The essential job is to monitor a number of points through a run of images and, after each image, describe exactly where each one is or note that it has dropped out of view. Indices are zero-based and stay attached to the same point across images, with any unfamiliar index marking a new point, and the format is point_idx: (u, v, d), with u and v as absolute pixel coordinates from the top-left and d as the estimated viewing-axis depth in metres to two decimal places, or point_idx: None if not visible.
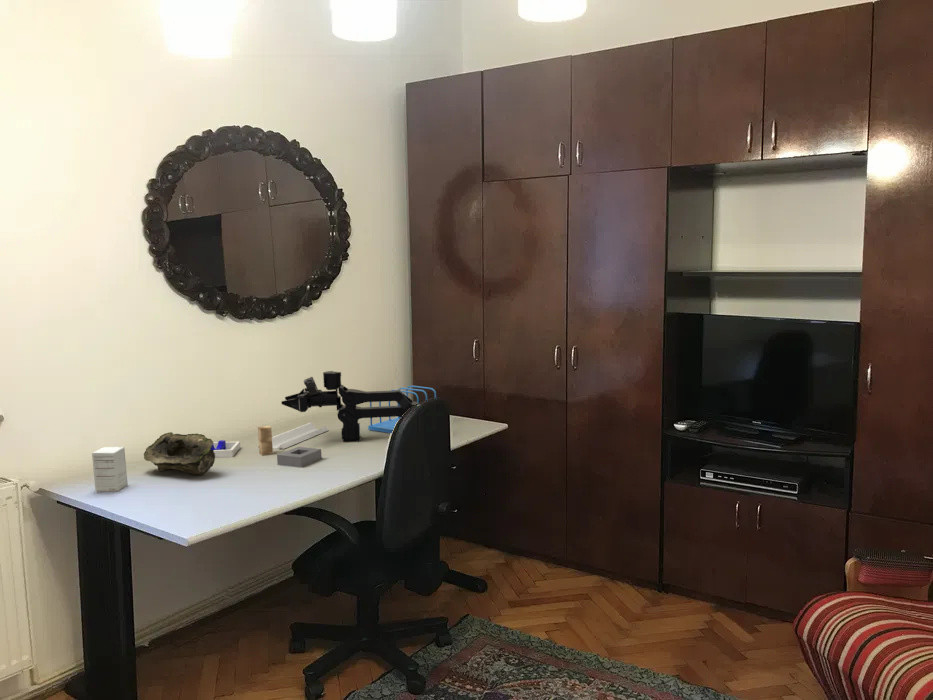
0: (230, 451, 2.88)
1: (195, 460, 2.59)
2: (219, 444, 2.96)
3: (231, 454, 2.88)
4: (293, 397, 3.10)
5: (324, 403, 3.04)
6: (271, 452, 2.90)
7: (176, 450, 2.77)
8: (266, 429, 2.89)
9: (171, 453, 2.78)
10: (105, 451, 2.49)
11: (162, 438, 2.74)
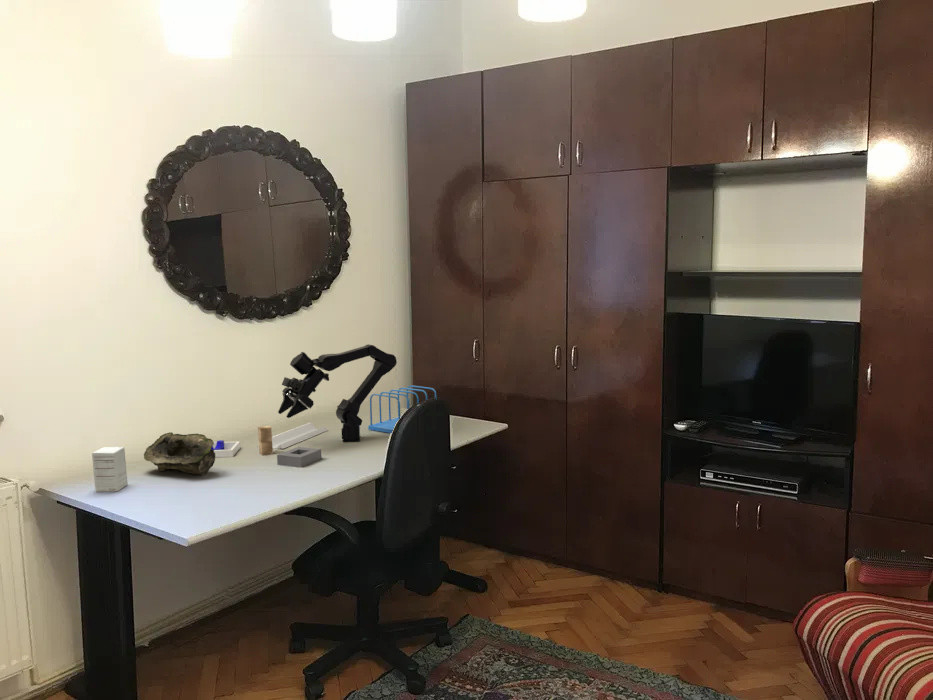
0: (230, 451, 2.88)
1: (195, 460, 2.59)
2: (218, 444, 2.96)
3: (231, 454, 2.88)
4: (284, 406, 2.98)
5: (315, 385, 2.96)
6: (271, 452, 2.90)
7: (176, 450, 2.77)
8: (266, 429, 2.89)
9: (171, 453, 2.78)
10: (105, 451, 2.49)
11: (162, 438, 2.74)
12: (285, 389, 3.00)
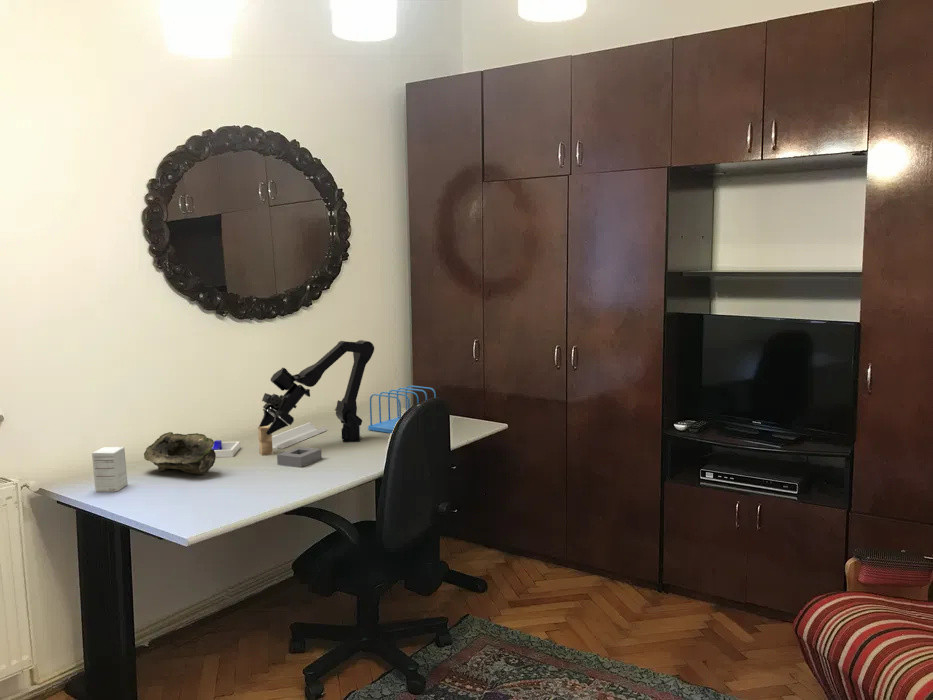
0: (230, 451, 2.88)
1: (196, 460, 2.60)
2: (215, 444, 2.96)
3: (231, 454, 2.88)
4: (264, 422, 2.94)
5: (296, 401, 2.93)
6: (271, 452, 2.90)
7: (176, 450, 2.77)
8: (266, 429, 2.89)
9: (171, 453, 2.78)
10: (105, 451, 2.49)
11: (162, 438, 2.74)
12: (266, 405, 2.97)
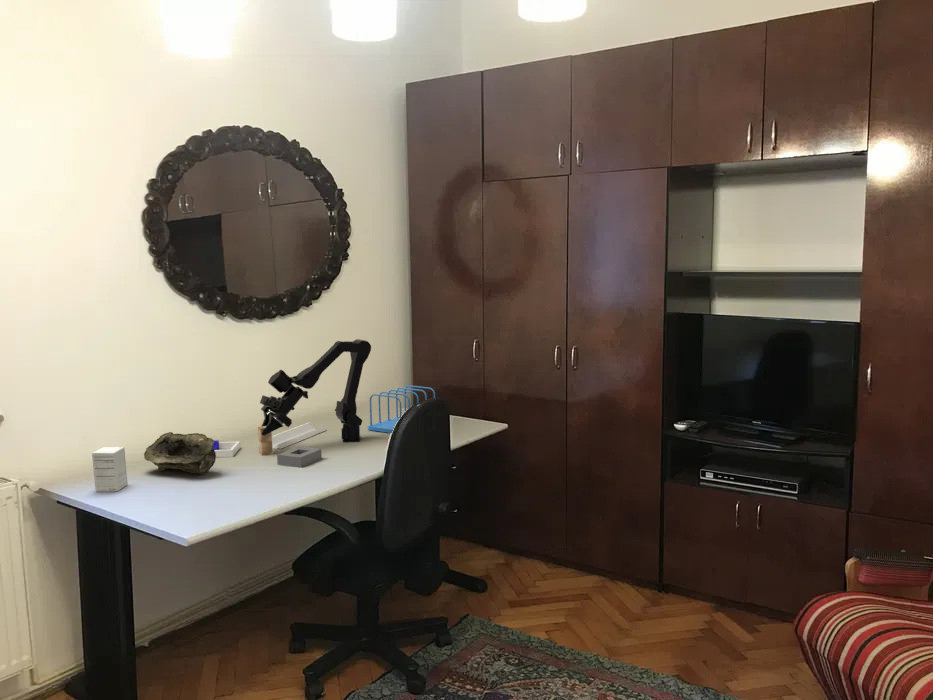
0: (230, 451, 2.88)
1: (196, 460, 2.60)
2: None
3: (231, 454, 2.88)
4: None
5: (294, 403, 2.92)
6: (271, 452, 2.90)
7: (176, 450, 2.77)
8: None
9: (171, 453, 2.78)
10: (105, 451, 2.49)
11: (162, 438, 2.74)
12: (264, 407, 2.96)
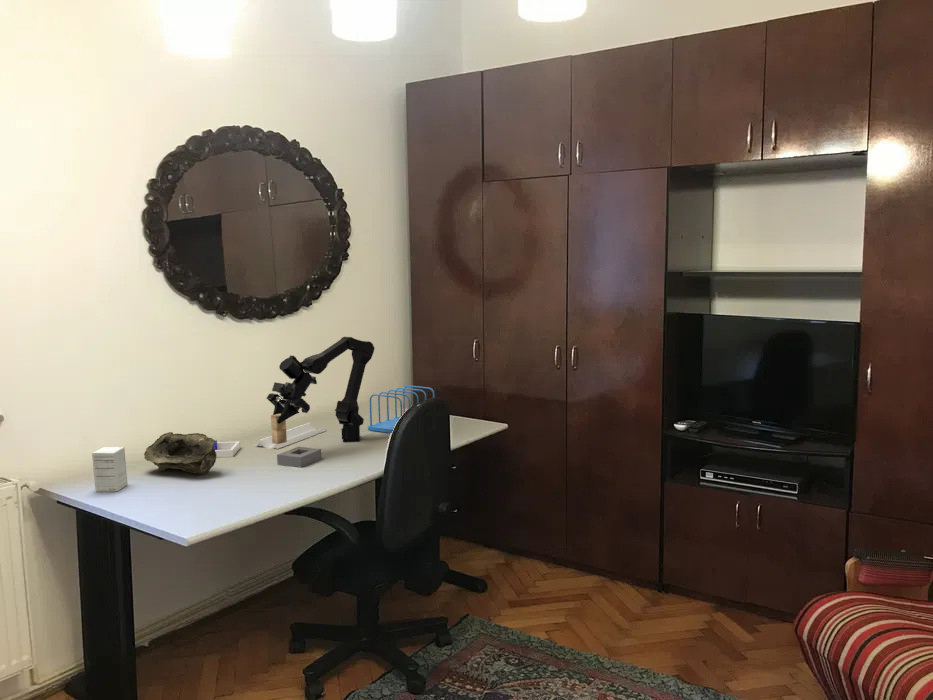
0: (230, 451, 2.88)
1: (197, 459, 2.60)
2: None
3: (231, 454, 2.88)
4: None
5: (305, 389, 2.87)
6: (285, 440, 2.83)
7: (176, 450, 2.77)
8: None
9: (171, 453, 2.78)
10: (105, 451, 2.49)
11: (162, 438, 2.74)
12: (270, 395, 2.87)
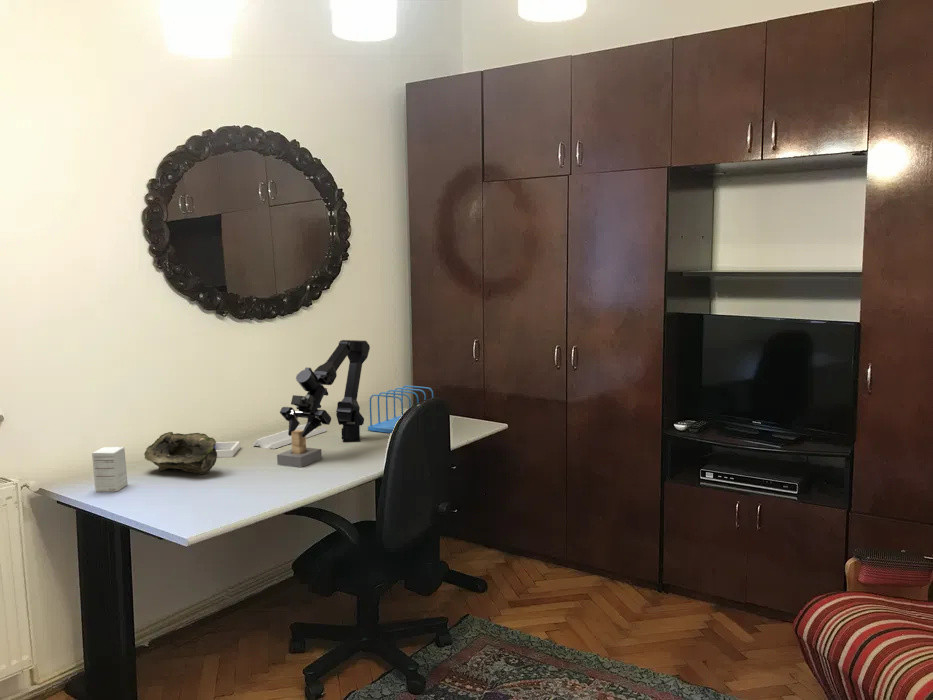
0: (230, 451, 2.88)
1: (198, 459, 2.60)
2: None
3: (231, 454, 2.88)
4: (292, 427, 2.79)
5: (320, 401, 2.85)
6: None
7: (176, 450, 2.77)
8: None
9: (171, 453, 2.78)
10: (105, 451, 2.49)
11: (162, 438, 2.74)
12: (284, 409, 2.82)
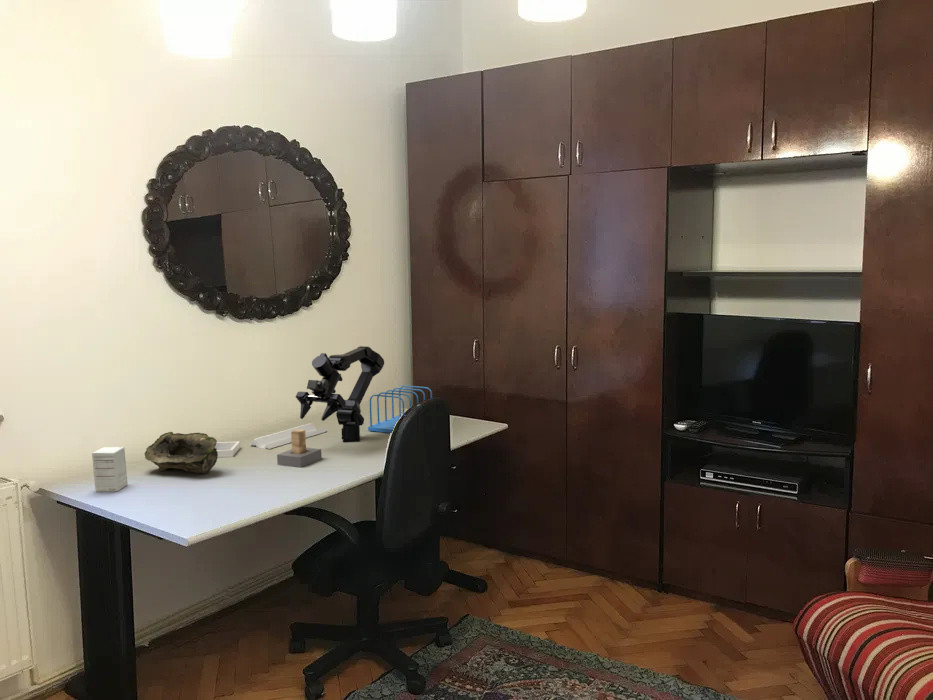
0: (230, 451, 2.88)
1: (199, 459, 2.61)
2: None
3: (231, 454, 2.88)
4: (304, 410, 2.88)
5: (335, 386, 2.93)
6: None
7: (176, 450, 2.78)
8: (302, 433, 2.77)
9: (171, 453, 2.78)
10: (105, 451, 2.49)
11: (162, 438, 2.74)
12: (300, 393, 2.90)
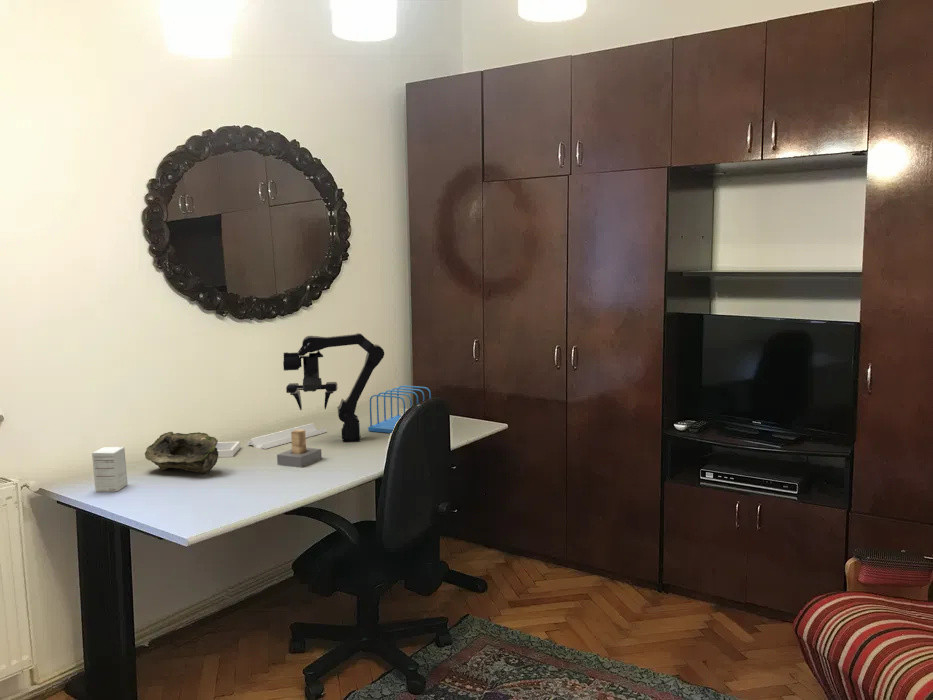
0: (230, 451, 2.88)
1: (200, 458, 2.61)
2: None
3: (231, 454, 2.88)
4: (300, 401, 3.03)
5: None
6: None
7: (176, 449, 2.78)
8: (302, 433, 2.77)
9: (171, 453, 2.78)
10: (105, 451, 2.49)
11: (162, 438, 2.74)
12: (291, 389, 3.00)
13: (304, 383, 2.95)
